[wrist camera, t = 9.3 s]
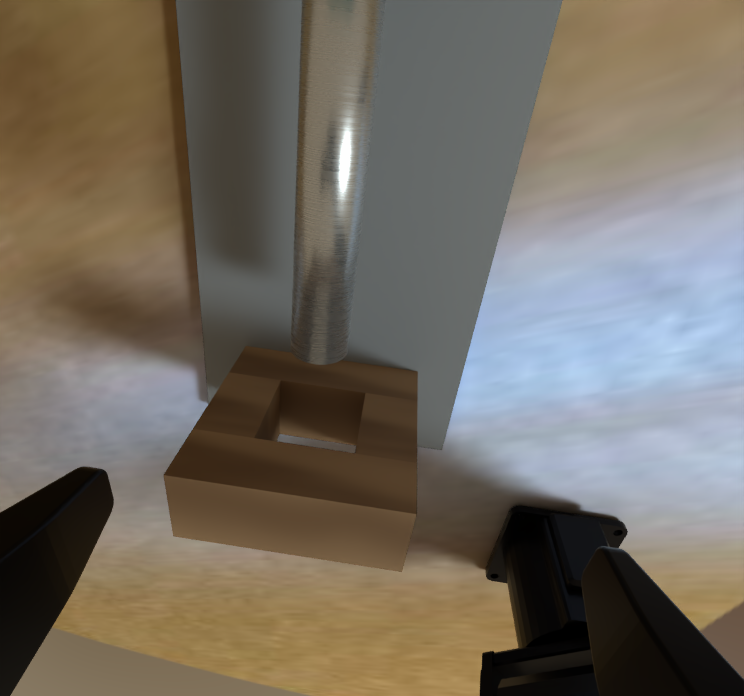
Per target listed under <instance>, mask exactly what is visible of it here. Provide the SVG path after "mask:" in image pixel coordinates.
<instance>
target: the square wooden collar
mask: <svg viewBox="0 0 744 696" xmlns="http://www.w3.org/2000/svg"><path fill="white" fill-rule="evenodd" d="M417 407H418V372H417V371H410V370H404V369H397V368H390V367H384V366H377V365H370V364H364V363H357V362H350V361H344V360H341V361H339V362H336V363H333V364H327V365H317V364H310V363H306V362H304V361H301V360H299V359H298V358H296V357H295V356H294V355H293V354H292V353H290V352H284V351H277V350H270V349H264V348H257V347H250V346H245V348H244V350H243V351H242V353H241V354H240V356H239V357H238V359H237V361H236V362H235V364H234V365H233V367H232V368H231V370H230V372H229V373H228V375H227V376H226V378H225V379H224V381H223V383H222V384H221V386H220V387H219V389H218V390H217V392H216V394H215V395H214V397H213V398H212V400H211V401H210V403H209V405H208V406H207V408H206V409H205V411H204V412H203V414H202V416H201V417H200V419H199V420H198V422H197V423H196V425H195V426H194V428H193V430H192V431H191V433H190V434H189V436H188V437H187V439H186V441H185V442H184V444H183V445H182V447H181V448H180V450H179V452H178V453H177V455H176V456H175V458H174V459H173V461H172V463H171V464H170V466H169V467H168V469H167V470H166V472H165V474H164V481H165V487H166V494H167V500H168V506H169V512H170V518H171V524H172V531H173V536H175V537H182V538H188V539H194V540H201V541H207V542H214V543H220V544H226V545H233V546H239V547H246V548H252V549H258V550H265V551H271V552H278V553H284V554H290V555H297V556H303V557H310V558H316V559H322V560H329V561H335V562H342V563H348V564H354V565H361V566H367V567H374V568H380V569H386V570H393V571H399V572H402V570H403V566H404V562H405V558H406V554H407V550H408V546H409V543H410V539H411V535H412V531H413V527H414V523H415V519H416V515H417ZM279 434H284V435H291V436H297V437H304V438H310V439H317V440H323V441H330V442H336V443H343V444H350V445H356V452H355V453H348V452H342V451H335V450H329V449H322V448H316V447H309V446H303V445H296V444H289V443H283V442H277V439H278V436H279Z"/></svg>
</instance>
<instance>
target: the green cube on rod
mask: <svg viewBox="0 0 744 696" xmlns="http://www.w3.org/2000/svg"><path fill="white" fill-rule="evenodd" d="M385 1H386V0H302V13H301V44H300V74H299V104H298V135H297V165H296V196H295V226H294V256H293V287H292V317H291V347H290V349H291V352H292V354H293V355H294V356H295V357H296V358H298V359H299V360H301V361H304V362H306V363H310V364H317V365H327V364H333V363H336V362H339V361H341V360H342V359H344V358H345V356H346V355H347V351H348V342H349V333H350V324H351V314H352V305H353V296H354V287H355V278H356V268H357V259H358V250H359V241H360V232H361V222H362V213H363V204H364V195H365V186H366V176H367V167H368V158H369V149H370V140H371V130H372V121H373V112H374V103H375V93H376V84H377V75H378V66H379V57H380V47H381V38H382V29H383V20H384V11H385Z"/></svg>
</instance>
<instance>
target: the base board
mask: <svg viewBox="0 0 744 696" xmlns="http://www.w3.org/2000/svg"><path fill="white" fill-rule="evenodd" d="M561 4H562V0H386V1H385V11H384V20H383V29H382V38H381V47H380V57H379V66H378V75H377V84H376V93H375V103H374V112H373V121H372V130H371V140H370V149H369V158H368V167H367V176H366V186H365V195H364V204H363V213H362V222H361V232H360V241H359V250H358V259H357V268H356V278H355V287H354V296H353V305H352V314H351V324H350V333H349V342H348V351H347V355H346V356H345V358H344V359H342V360H344V361H350V362H357V363H364V364H370V365H377V366H384V367H390V368H397V369H404V370H410V371H417V372H418V407H417V446H418V447H424V448H431V449H437V450H442V447H443V443H444V439H445V436H446V432H447V428H448V425H449V421H450V417H451V413H452V410H453V406H454V402H455V399H456V395H457V391H458V387H459V384H460V380H461V376H462V373H463V369H464V365H465V361H466V358H467V354H468V350H469V346H470V343H471V339H472V335H473V332H474V328H475V324H476V320H477V317H478V313H479V309H480V306H481V302H482V298H483V294H484V291H485V287H486V283H487V279H488V276H489V272H490V268H491V265H492V261H493V257H494V253H495V250H496V246H497V242H498V239H499V235H500V231H501V227H502V224H503V220H504V216H505V213H506V209H507V205H508V201H509V198H510V194H511V190H512V186H513V183H514V179H515V175H516V172H517V168H518V164H519V160H520V157H521V153H522V149H523V146H524V142H525V138H526V134H527V131H528V127H529V123H530V119H531V116H532V112H533V108H534V105H535V101H536V97H537V93H538V90H539V86H540V82H541V79H542V75H543V71H544V67H545V64H546V60H547V56H548V52H549V49H550V45H551V41H552V38H553V34H554V30H555V26H556V23H557V19H558V15H559V12H560V8H561ZM176 11H177V23H178V35H179V48H180V60H181V72H182V85H183V97H184V109H185V121H186V134H187V146H188V158H189V171H190V183H191V195H192V208H193V220H194V232H195V244H196V257H197V269H198V281H199V294H200V306H201V318H202V330H203V343H204V355H205V367H206V380H207V392H208V404H209V403H210V401H211V400H212V398H213V397H214V395H215V394H216V392H217V390H218V389H219V387H220V386H221V384H222V383H223V381H224V379H225V378H226V376H227V375H228V373H229V372H230V370H231V368H232V367H233V365H234V364H235V362H236V361H237V359H238V357H239V356H240V354H241V353H242V351H243V350H244V348H245V346H250V347H257V348H264V349H270V350H277V351H284V352H290V353H292V352H291V349H290V347H291V317H292V287H293V256H294V226H295V196H296V165H297V135H298V104H299V74H300V44H301V13H302V0H176Z"/></svg>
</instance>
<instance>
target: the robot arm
mask: <svg viewBox="0 0 744 696" xmlns="http://www.w3.org/2000/svg"><path fill="white" fill-rule="evenodd" d="M113 504H114V499H113V494H112V490H111V486H110V482H109V479H108V475H107V472H106V471H105V470H103V469H99V468H93V467H80V468H77V469H75V470H73V471H72V472H70V473H68V474H66V475H65V476H63V477H61V478H59V479H58V480H56V481H54V482H53V483H51V484H49V485H47V486H46V487H44V488H42V489H40V490H39V491H37V492H35V493H33V494H32V495H30V496H28V497H27V498H25V499H23V500H21V501H20V502H18V503H16V504H14V505H13V506H11V507H9V508H7V509H6V510H4V511H2V512H1V513H0V696H10V695H11V694H12V692H13V690H14V689H15V687H16V685H17V684H18V682H19V680H20V679H21V677H22V675H23V674H24V672H25V670H26V669H27V667H28V665H29V664H30V662H31V661H32V659H33V657H34V656H35V654H36V652H37V651H38V649H39V647H40V646H41V644H42V642H43V641H44V639H45V637H46V636H47V634H48V633H49V631H50V629H51V628H52V626H53V624H54V623H55V621H56V619H57V618H58V616H59V614H60V613H61V611H62V610H63V608H64V606H65V604H66V603H67V601H68V599H69V597H70V596H71V594H72V592H73V590H74V588H75V586H76V584H77V582H78V580H79V578H80V576H81V574H82V572H83V570H84V568H85V566H86V564H87V562H88V560H89V558H90V555H91V553H92V551H93V549H94V547H95V545H96V543H97V541H98V539H99V537H100V535H101V533H102V531H103V528H104V526H105V524H106V522H107V520H108V518H109V516H110V514H111V512H112V508H113ZM627 532H628V531H627V529H626V527H625V524H624V523H623V522H620V521H616V520H609V519H603V518H596V517H590V516H583V515H577V514H570V513H564V512H557V511H551V510H544V509H538V508H531V507H525V506H515V507H513V508H511V509H510V511H509V513H508V516H507V518H506V521H505V523H504V526H503V528H502V530H501V533H500V535H499V538H498V540H497V543H496V545H495V547H494V550H493V552H492V555H491V557H490V560H489V562H488V565H487V567H486V577H487V579H489V580H491V581H497V582H503V583H508V589H509V595H510V601H511V607H512V613H513V618H514V624H515V630H516V636H517V642H518V648H517V649H512V650H507V651H501V652H496V653H494V651H490V652H485V653H483V654H482V670H481V676H480V696H744V679H743V678H742V677H741V676H740V675H739V673H738V672H737V671H736V670H735V669H734V668H733V667H732V666H731V665H730V664H729V663H728V661H727V660H726V659H725V658H723V656H722V655H721V654H720V653H719V652H718V651H717V650H716V648H715V647H714V646H713V645H712V644H711V643H710V642H709V641H708V640H707V639H706V638H705V637H704V635H703V634H702V633H701V632H700V631H699V630H698V629H697V628H696V627H695V626H694V625H693V623H692V622H691V621H690V620H689V619H688V618H687V617H686V616H685V615H684V614H683V613H682V612H681V610H680V609H679V608H678V607H677V606H676V605H675V604H674V603H673V602H672V601H671V600H670V598H669V597H668V596H667V595H666V594H665V593H664V592H663V591H662V590H661V589H660V588H659V587H658V585H657V584H656V583H655V582H654V581H653V580H652V579H651V578H650V577H649V576H648V575H647V573H646V572H645V571H644V570H643V569H642V568H641V567H640V566H639V565H638V564H637V563H636V562H635V560H634V559H633V558H632V557H631V556H630V555H629V554H628V553H627V552H625V551H624V550H622V549H619V546H620V544H621V543H622V541H623V540H624V538H625V537H626V535H627Z"/></svg>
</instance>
